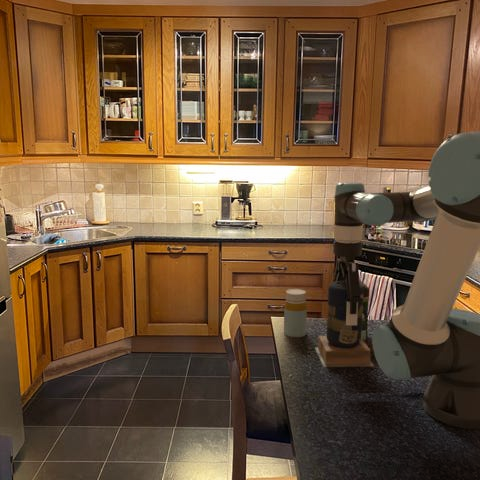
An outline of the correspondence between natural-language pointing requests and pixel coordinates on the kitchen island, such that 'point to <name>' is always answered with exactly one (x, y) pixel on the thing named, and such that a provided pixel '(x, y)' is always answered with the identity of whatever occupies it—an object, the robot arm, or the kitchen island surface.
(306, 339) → the kitchen island surface
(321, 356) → the board
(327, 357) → the base block
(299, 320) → the bottle
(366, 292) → the coffee jar
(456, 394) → the robot arm
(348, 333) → the canister
